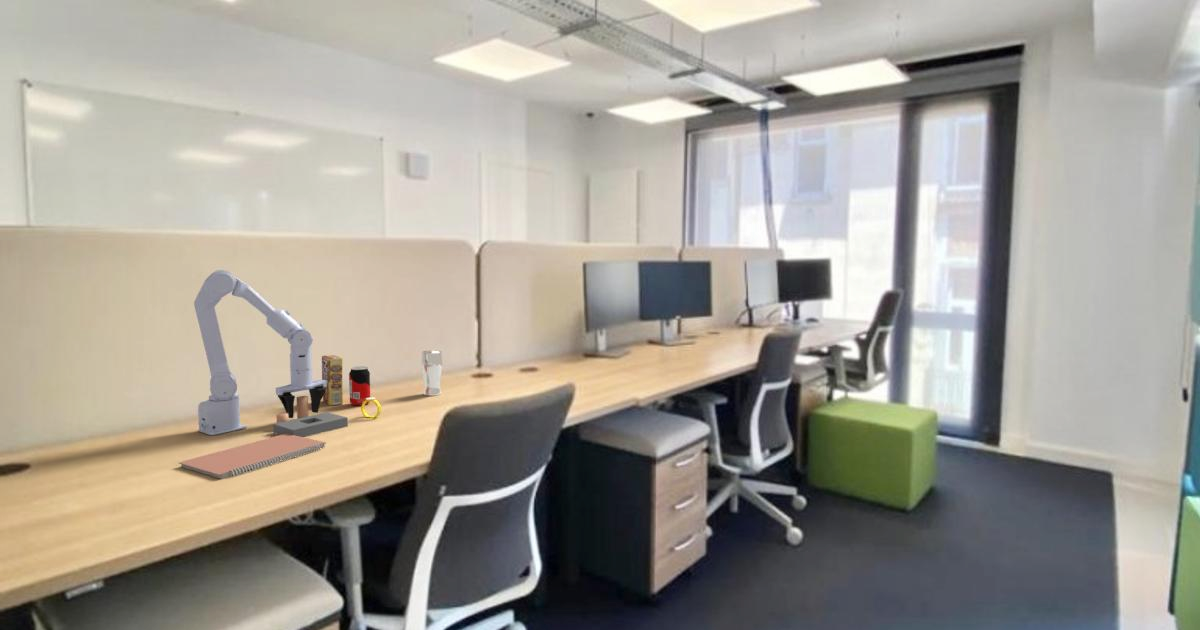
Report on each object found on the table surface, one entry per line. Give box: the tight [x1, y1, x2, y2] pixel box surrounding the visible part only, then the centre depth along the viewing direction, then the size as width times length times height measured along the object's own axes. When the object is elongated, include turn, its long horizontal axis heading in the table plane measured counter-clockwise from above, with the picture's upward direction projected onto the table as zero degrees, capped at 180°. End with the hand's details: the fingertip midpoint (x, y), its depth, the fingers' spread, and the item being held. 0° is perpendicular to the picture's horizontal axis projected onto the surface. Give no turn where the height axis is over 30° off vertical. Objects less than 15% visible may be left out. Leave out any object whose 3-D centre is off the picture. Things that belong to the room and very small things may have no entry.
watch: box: [360, 396, 382, 419], centre depth 191 cm, size 6×3×6 cm, turn 76°
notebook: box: [178, 434, 327, 480], centre depth 154 cm, size 27×17×2 cm, turn 151°
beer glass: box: [421, 349, 443, 397], centre depth 222 cm, size 7×7×15 cm
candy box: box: [321, 354, 344, 406], centre depth 209 cm, size 9×4×15 cm, turn 39°
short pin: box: [276, 412, 290, 423], centre depth 178 cm, size 3×3×4 cm
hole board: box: [272, 411, 349, 438], centre depth 178 cm, size 16×10×2 cm, turn 145°
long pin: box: [296, 395, 310, 419], centre depth 187 cm, size 3×3×7 cm
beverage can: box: [348, 366, 371, 406], centre depth 207 cm, size 6×6×12 cm
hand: (302, 414), depth 187 cm, fingers open, 7 cm apart
